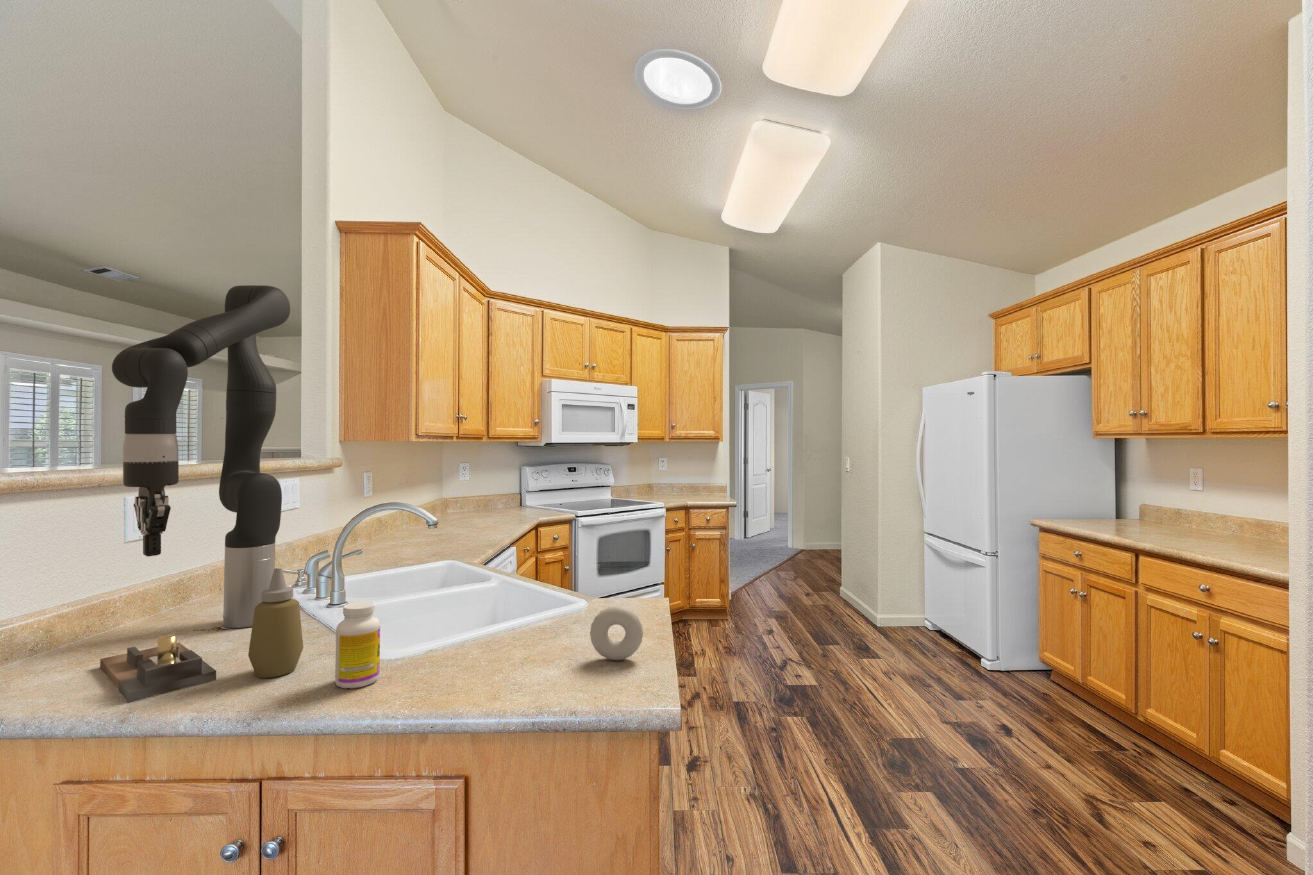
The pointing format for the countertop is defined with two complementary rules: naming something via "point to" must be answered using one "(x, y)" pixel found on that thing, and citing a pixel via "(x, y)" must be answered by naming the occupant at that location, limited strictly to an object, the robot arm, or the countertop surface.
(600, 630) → the donut
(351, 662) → the supplement bottle
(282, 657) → the squeeze bottle
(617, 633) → the countertop surface
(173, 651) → the lock bolt
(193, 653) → the door board
